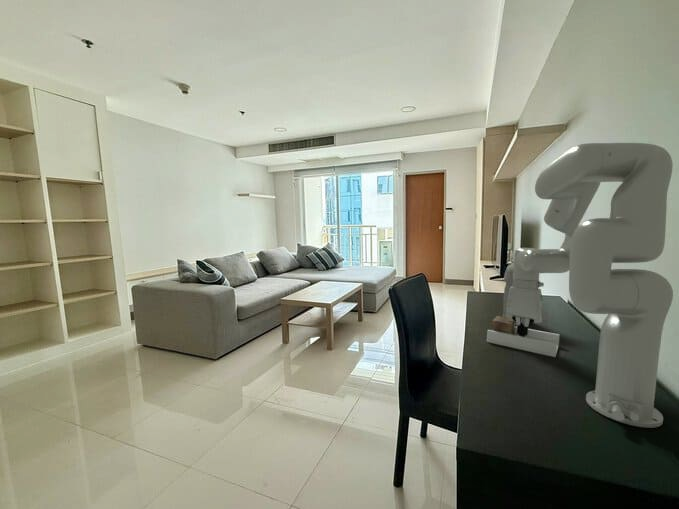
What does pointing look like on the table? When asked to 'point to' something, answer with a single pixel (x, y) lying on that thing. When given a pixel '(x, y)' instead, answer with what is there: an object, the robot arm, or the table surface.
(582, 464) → the table surface
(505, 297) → the unidentifiable
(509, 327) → the walnut block
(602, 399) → the robot arm
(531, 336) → the chute
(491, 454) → the table surface
